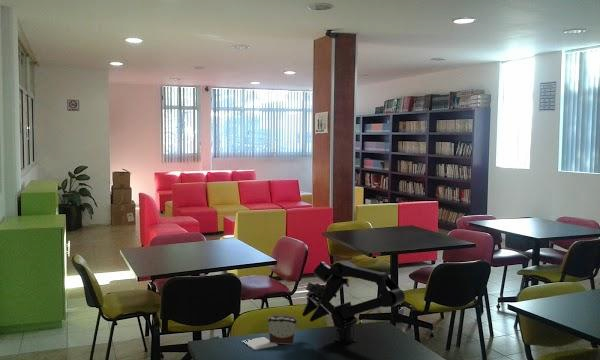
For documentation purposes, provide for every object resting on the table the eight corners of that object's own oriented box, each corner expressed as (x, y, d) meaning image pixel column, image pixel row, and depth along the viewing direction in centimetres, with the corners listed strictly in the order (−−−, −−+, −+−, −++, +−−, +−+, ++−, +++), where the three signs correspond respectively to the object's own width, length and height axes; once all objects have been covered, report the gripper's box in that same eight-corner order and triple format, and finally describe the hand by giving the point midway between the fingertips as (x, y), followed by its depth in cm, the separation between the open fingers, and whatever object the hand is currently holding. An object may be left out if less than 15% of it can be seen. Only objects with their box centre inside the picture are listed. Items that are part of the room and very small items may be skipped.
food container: (298, 340, 217) (299, 315, 217) (296, 344, 211) (298, 319, 211) (268, 338, 218) (269, 313, 218) (265, 342, 212) (267, 317, 212)
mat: (263, 337, 220) (263, 336, 220) (277, 345, 210) (277, 344, 210) (241, 341, 215) (241, 340, 215) (254, 350, 205) (254, 349, 205)
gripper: (310, 271, 225) (285, 300, 221) (326, 278, 207) (299, 310, 203) (328, 289, 227) (304, 317, 223) (345, 297, 209) (319, 328, 206)
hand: (306, 318), depth 214 cm, fingers open, 9 cm apart
